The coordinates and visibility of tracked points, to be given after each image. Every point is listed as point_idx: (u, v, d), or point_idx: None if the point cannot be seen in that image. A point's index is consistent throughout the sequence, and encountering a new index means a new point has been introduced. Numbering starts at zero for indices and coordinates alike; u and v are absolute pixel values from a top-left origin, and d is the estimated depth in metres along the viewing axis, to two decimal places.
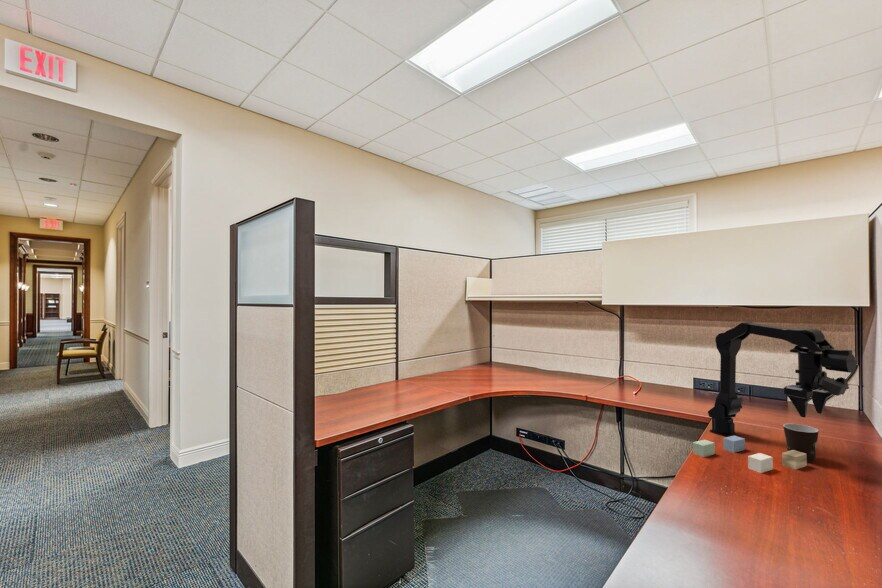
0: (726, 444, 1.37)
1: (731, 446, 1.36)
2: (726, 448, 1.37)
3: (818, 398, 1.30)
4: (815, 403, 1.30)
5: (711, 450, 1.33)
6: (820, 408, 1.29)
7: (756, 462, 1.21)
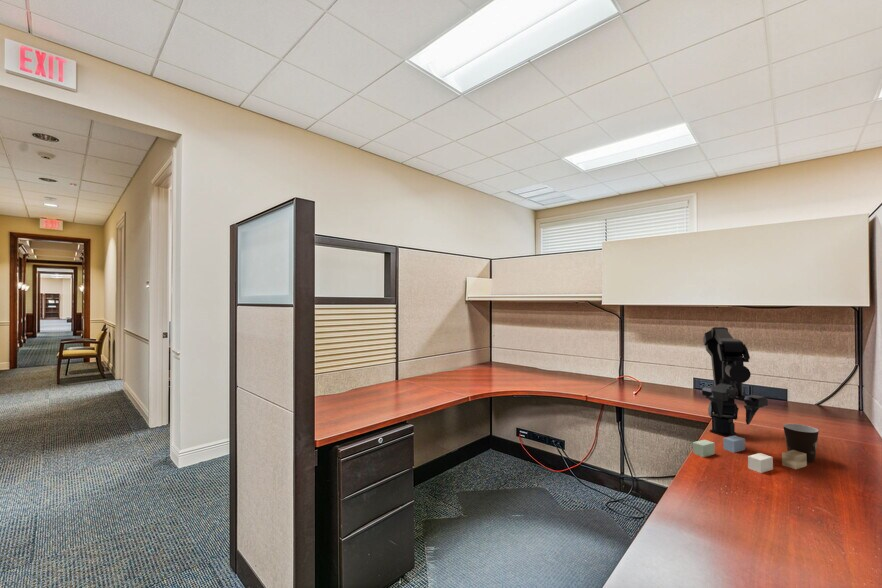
0: (726, 444, 1.37)
1: (731, 446, 1.36)
2: (726, 448, 1.37)
3: None
4: None
5: (711, 450, 1.33)
6: None
7: (755, 462, 1.21)
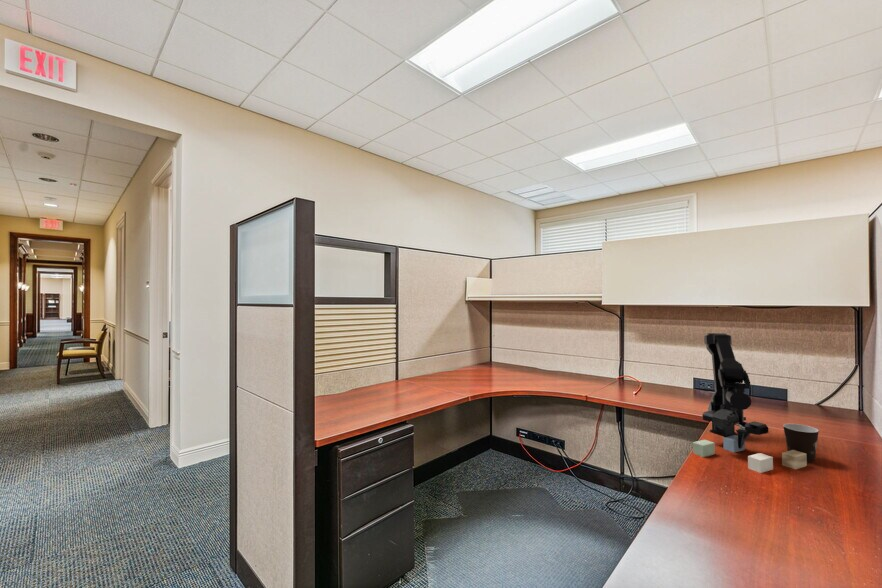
0: (726, 444, 1.37)
1: (731, 445, 1.36)
2: (726, 448, 1.37)
3: None
4: None
5: (711, 450, 1.33)
6: None
7: (755, 462, 1.21)
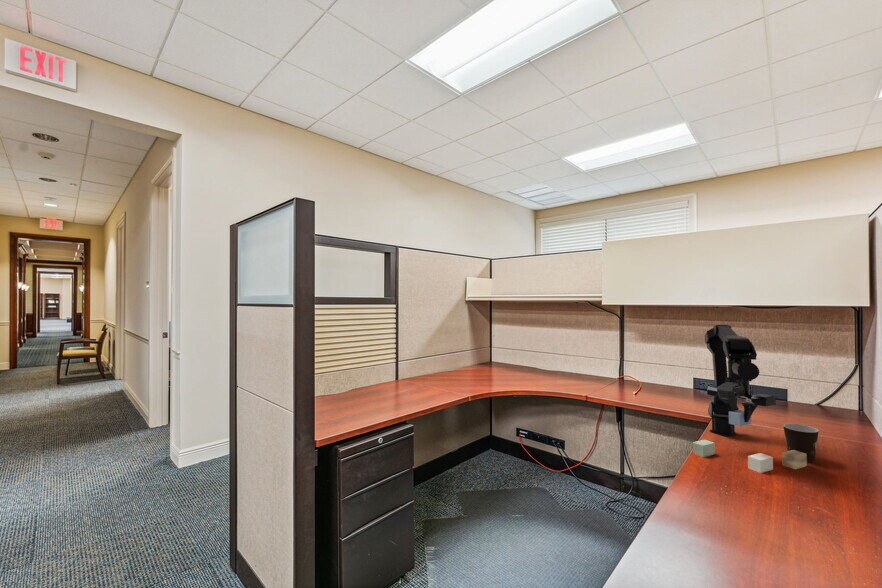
0: (731, 418, 1.33)
1: (737, 419, 1.31)
2: (731, 422, 1.33)
3: None
4: None
5: (711, 450, 1.33)
6: None
7: (755, 462, 1.21)
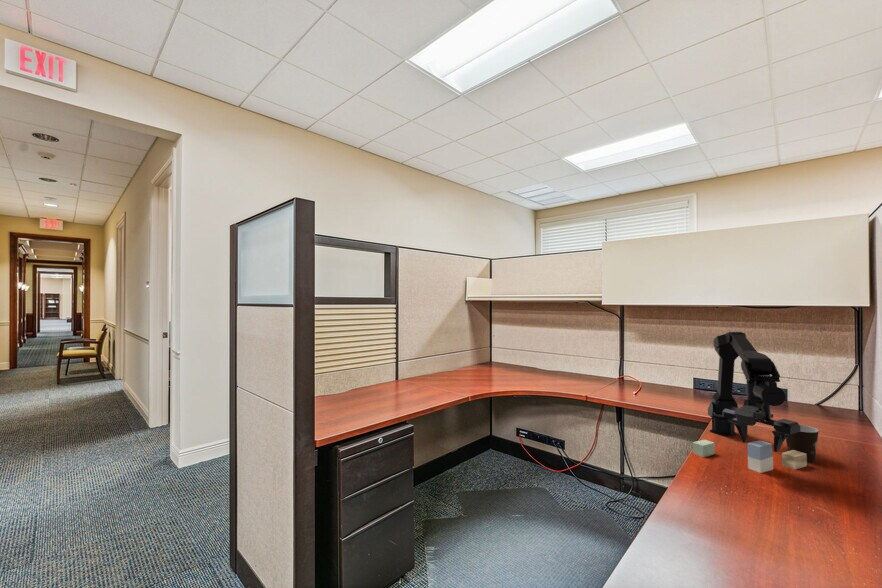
0: (751, 450, 1.22)
1: (757, 452, 1.20)
2: (751, 455, 1.22)
3: None
4: None
5: (711, 450, 1.33)
6: None
7: (755, 461, 1.21)
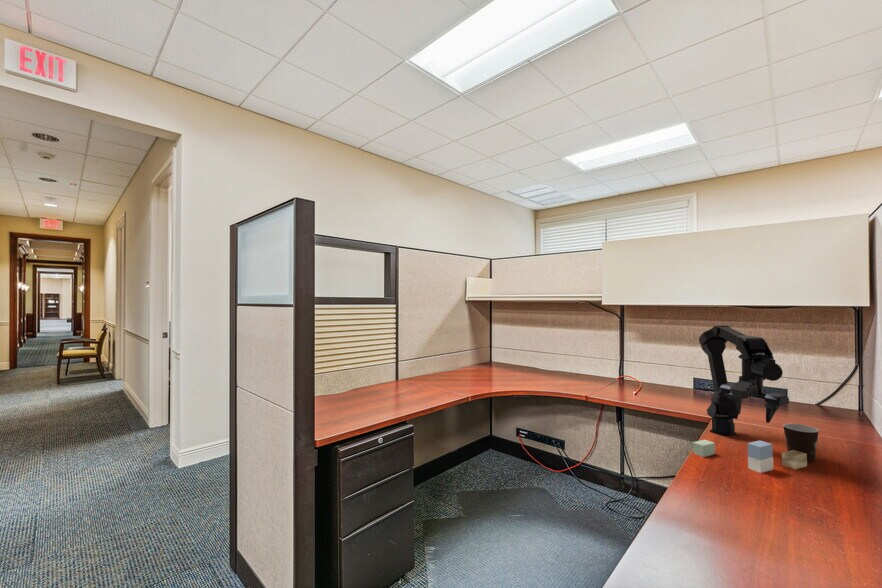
0: (751, 450, 1.22)
1: (757, 452, 1.20)
2: (751, 455, 1.22)
3: None
4: None
5: (711, 450, 1.33)
6: None
7: (755, 461, 1.21)
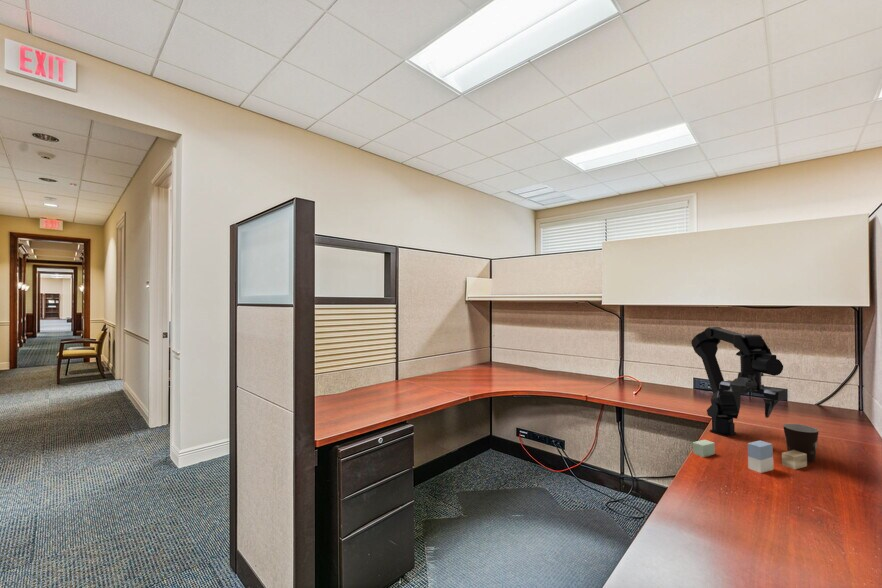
0: (751, 450, 1.22)
1: (757, 452, 1.20)
2: (751, 455, 1.22)
3: None
4: None
5: (711, 450, 1.33)
6: None
7: (755, 461, 1.21)
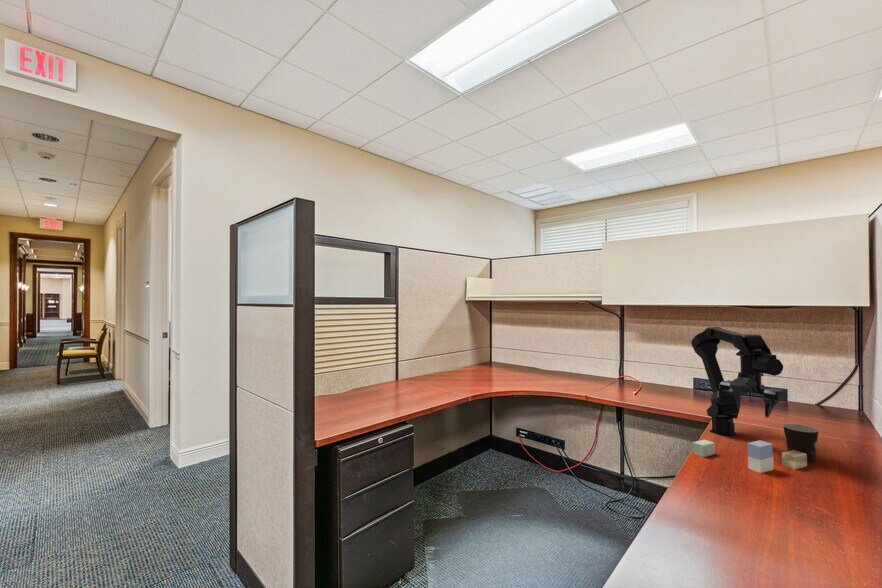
0: (751, 450, 1.22)
1: (757, 452, 1.20)
2: (751, 455, 1.22)
3: None
4: None
5: (711, 450, 1.33)
6: None
7: (755, 461, 1.21)
